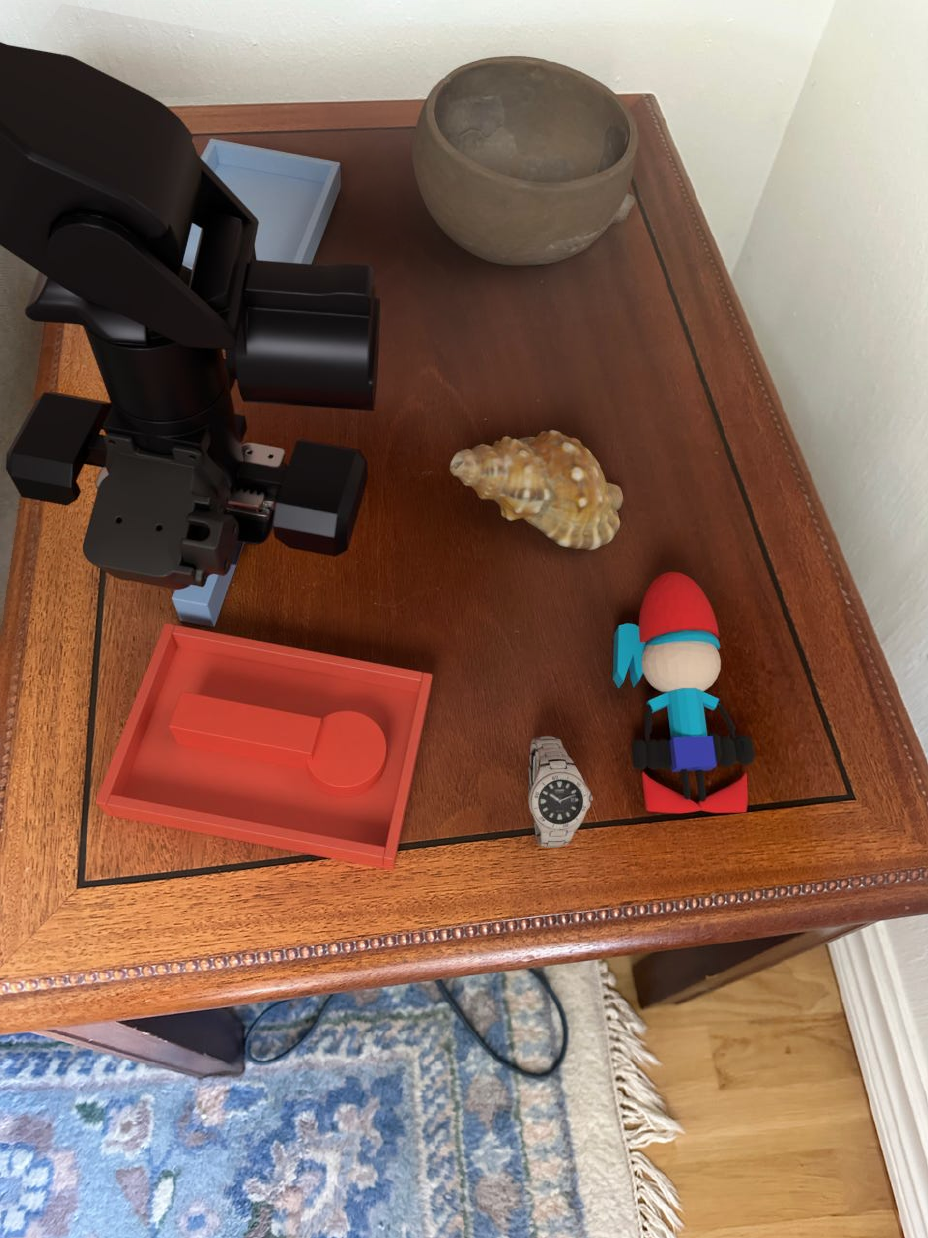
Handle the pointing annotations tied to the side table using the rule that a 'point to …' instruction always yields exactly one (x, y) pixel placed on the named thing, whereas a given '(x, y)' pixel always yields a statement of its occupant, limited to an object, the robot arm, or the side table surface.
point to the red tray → (256, 790)
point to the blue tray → (275, 198)
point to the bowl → (524, 159)
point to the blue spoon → (203, 599)
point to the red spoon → (287, 740)
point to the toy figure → (680, 695)
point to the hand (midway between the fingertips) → (215, 555)
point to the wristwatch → (555, 793)
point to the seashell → (545, 487)
